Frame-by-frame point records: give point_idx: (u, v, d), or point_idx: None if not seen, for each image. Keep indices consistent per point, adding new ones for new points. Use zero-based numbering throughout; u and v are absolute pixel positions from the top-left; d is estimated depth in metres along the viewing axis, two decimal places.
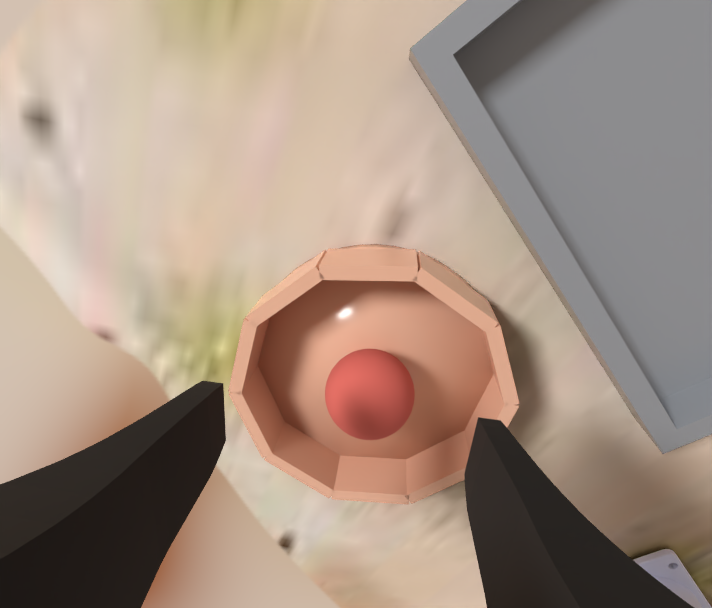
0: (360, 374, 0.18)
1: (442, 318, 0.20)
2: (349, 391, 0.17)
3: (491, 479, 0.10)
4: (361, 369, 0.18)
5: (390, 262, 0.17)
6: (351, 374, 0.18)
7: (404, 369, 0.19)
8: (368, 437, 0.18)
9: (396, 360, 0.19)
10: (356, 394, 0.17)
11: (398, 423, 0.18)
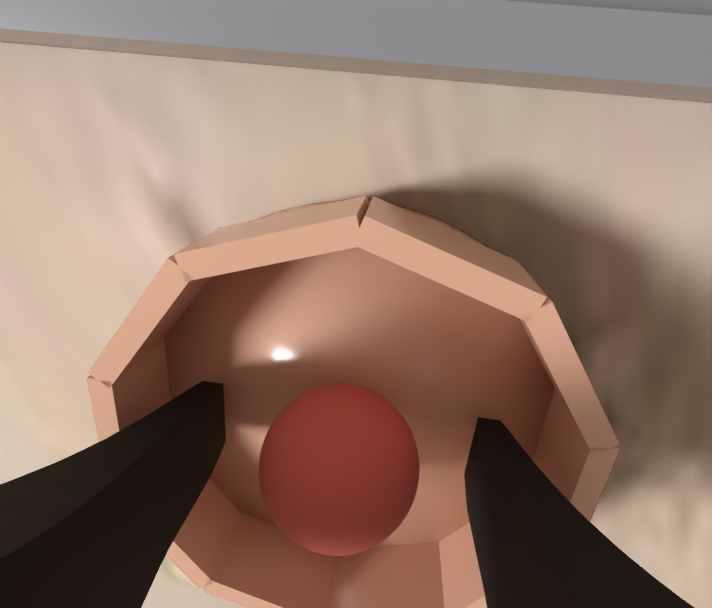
0: (269, 464, 0.10)
1: (345, 277, 0.11)
2: (272, 502, 0.09)
3: (491, 479, 0.10)
4: (268, 454, 0.10)
5: None
6: (262, 472, 0.10)
7: (339, 397, 0.10)
8: (366, 545, 0.09)
9: (321, 393, 0.10)
10: (280, 501, 0.09)
11: (384, 491, 0.09)
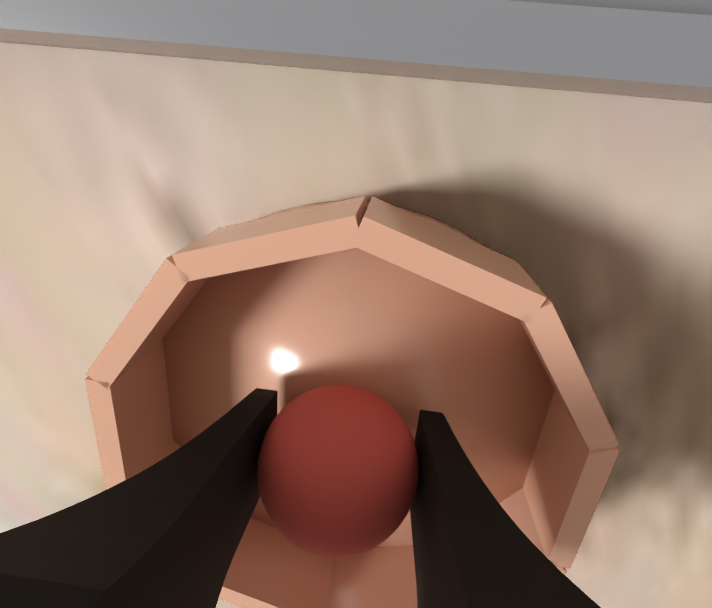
0: (267, 465, 0.10)
1: (344, 277, 0.11)
2: (271, 504, 0.09)
3: (424, 469, 0.10)
4: (267, 455, 0.10)
5: None
6: (261, 473, 0.10)
7: (338, 398, 0.10)
8: (365, 546, 0.09)
9: (320, 394, 0.10)
10: (278, 503, 0.09)
11: (384, 493, 0.09)
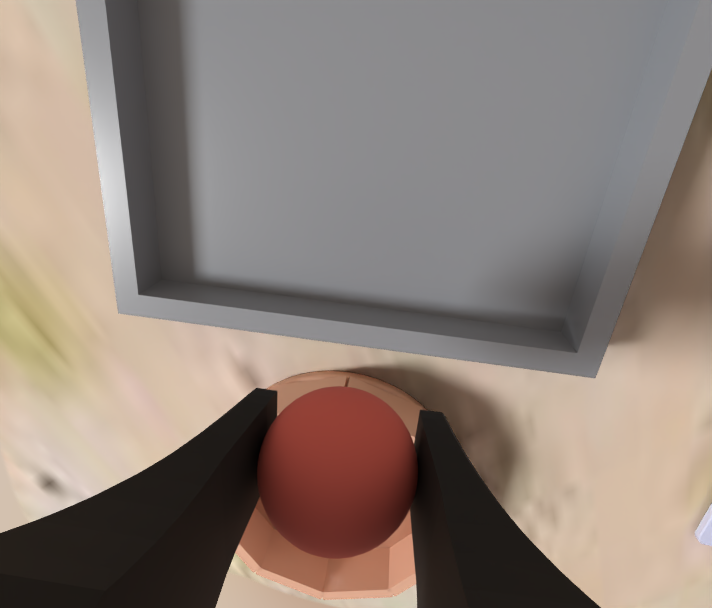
0: (268, 466, 0.10)
1: None
2: (270, 505, 0.09)
3: (424, 469, 0.10)
4: (267, 456, 0.10)
5: None
6: (261, 474, 0.10)
7: (338, 400, 0.10)
8: (364, 548, 0.09)
9: (321, 395, 0.10)
10: (278, 504, 0.09)
11: (383, 495, 0.09)
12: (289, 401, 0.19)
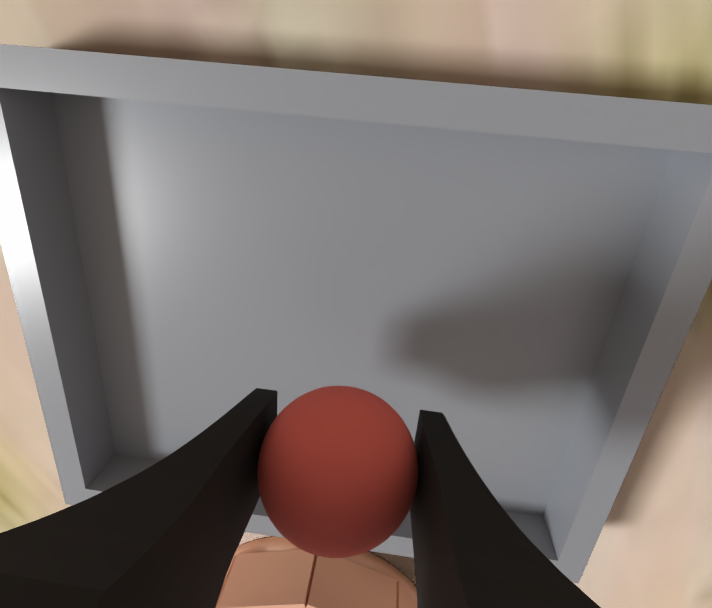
0: (268, 466, 0.10)
1: None
2: (271, 504, 0.09)
3: (424, 469, 0.10)
4: (267, 456, 0.10)
5: None
6: (261, 474, 0.10)
7: (339, 399, 0.10)
8: (364, 547, 0.09)
9: (321, 395, 0.10)
10: (278, 503, 0.09)
11: (384, 494, 0.09)
12: (252, 586, 0.18)
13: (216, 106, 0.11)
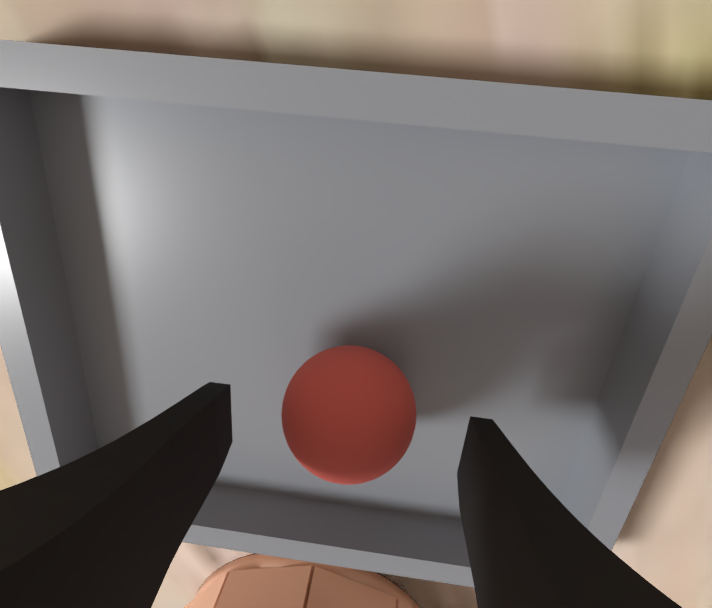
0: (292, 406, 0.12)
1: None
2: (294, 437, 0.11)
3: (483, 478, 0.10)
4: (291, 399, 0.12)
5: None
6: (286, 414, 0.12)
7: (350, 353, 0.12)
8: (372, 472, 0.11)
9: (335, 350, 0.12)
10: (301, 435, 0.11)
11: (388, 427, 0.11)
12: (245, 605, 0.17)
13: (201, 104, 0.10)
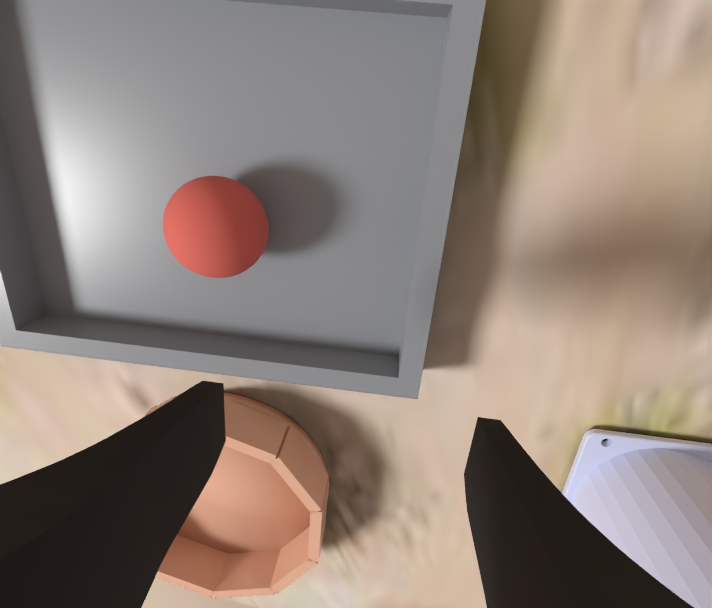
0: (166, 210, 0.16)
1: None
2: (167, 231, 0.16)
3: (491, 479, 0.10)
4: (166, 206, 0.16)
5: None
6: (163, 218, 0.16)
7: (212, 176, 0.16)
8: (223, 255, 0.16)
9: (203, 177, 0.17)
10: (170, 226, 0.15)
11: (232, 218, 0.15)
12: None
13: None
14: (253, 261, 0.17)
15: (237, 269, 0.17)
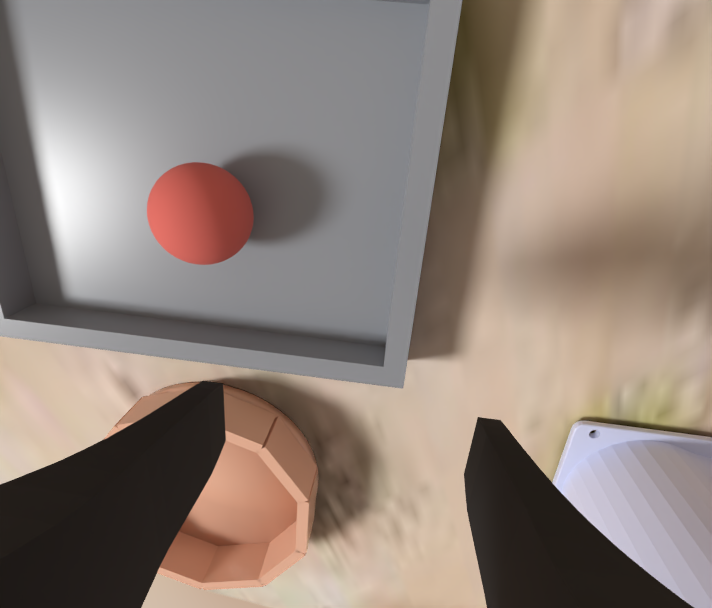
0: (150, 195, 0.16)
1: None
2: (150, 216, 0.16)
3: (491, 479, 0.10)
4: (150, 192, 0.16)
5: None
6: (147, 204, 0.16)
7: (196, 162, 0.16)
8: (207, 240, 0.16)
9: None
10: (154, 211, 0.16)
11: (215, 203, 0.15)
12: (149, 411, 0.22)
13: None
14: (237, 247, 0.17)
15: (221, 255, 0.17)
